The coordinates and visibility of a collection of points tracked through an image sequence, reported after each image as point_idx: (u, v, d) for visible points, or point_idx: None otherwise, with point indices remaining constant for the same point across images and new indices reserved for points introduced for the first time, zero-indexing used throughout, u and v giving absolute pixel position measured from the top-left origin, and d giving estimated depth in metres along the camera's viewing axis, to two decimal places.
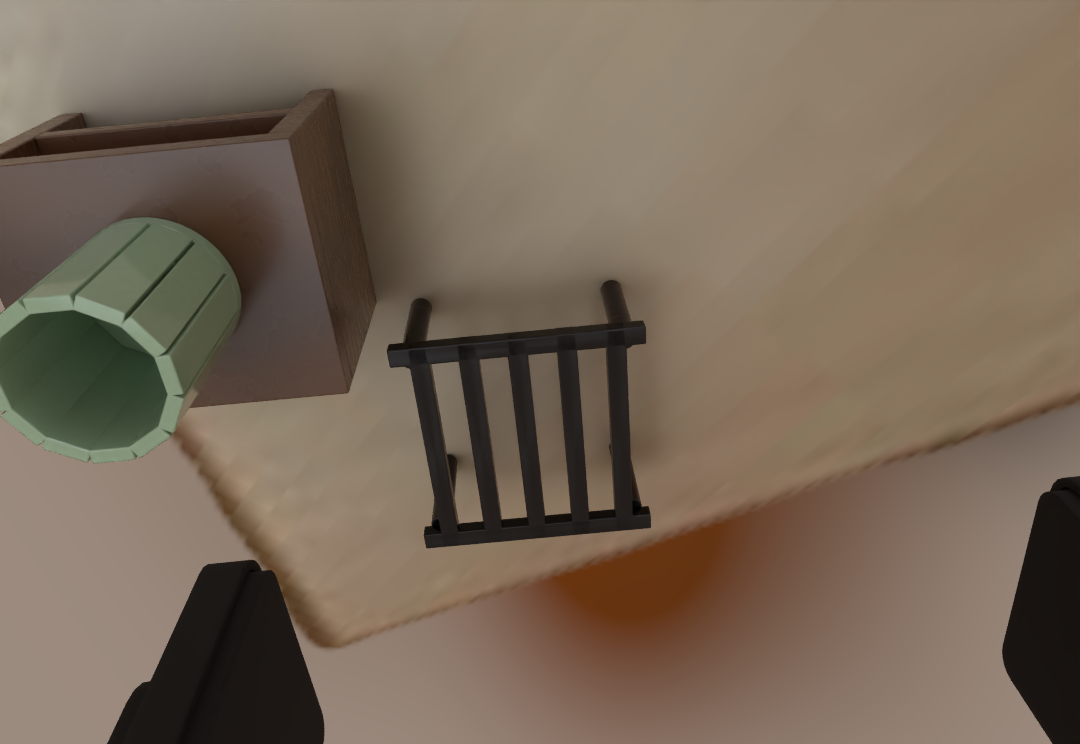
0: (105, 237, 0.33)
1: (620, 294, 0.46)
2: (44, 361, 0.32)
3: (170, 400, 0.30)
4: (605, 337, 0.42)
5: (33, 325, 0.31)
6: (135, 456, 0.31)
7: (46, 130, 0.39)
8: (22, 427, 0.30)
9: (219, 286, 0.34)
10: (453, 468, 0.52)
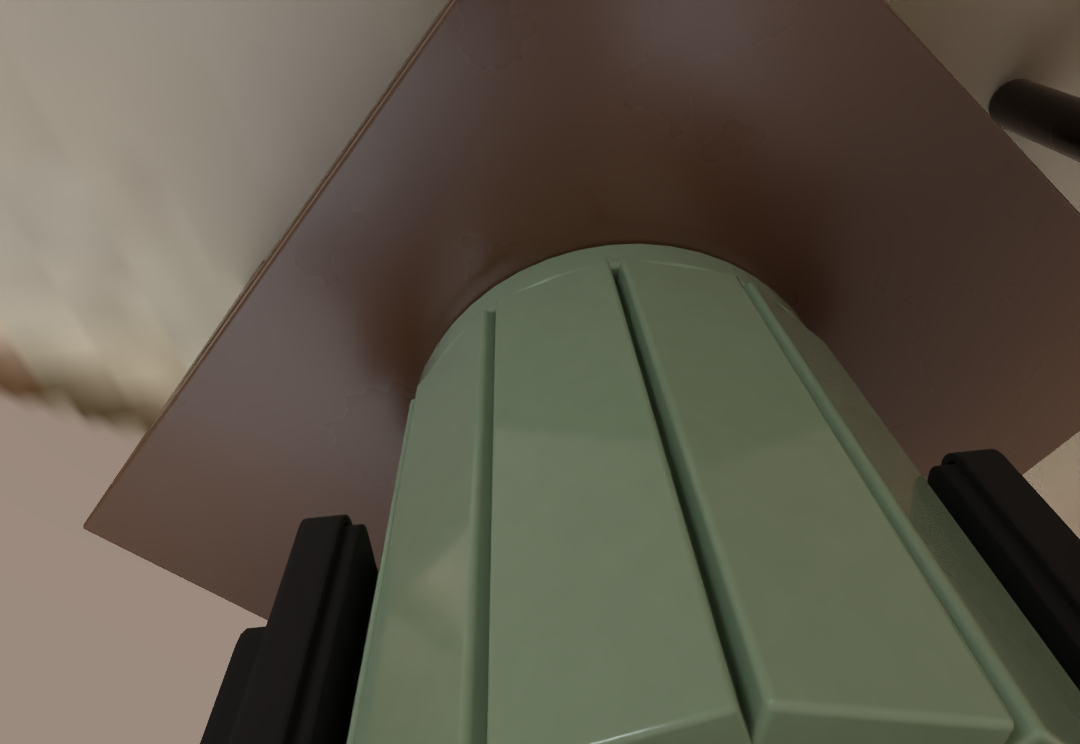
0: (425, 422, 0.11)
1: None
2: None
3: None
4: None
5: None
6: None
7: (224, 318, 0.19)
8: None
9: (773, 321, 0.10)
10: None
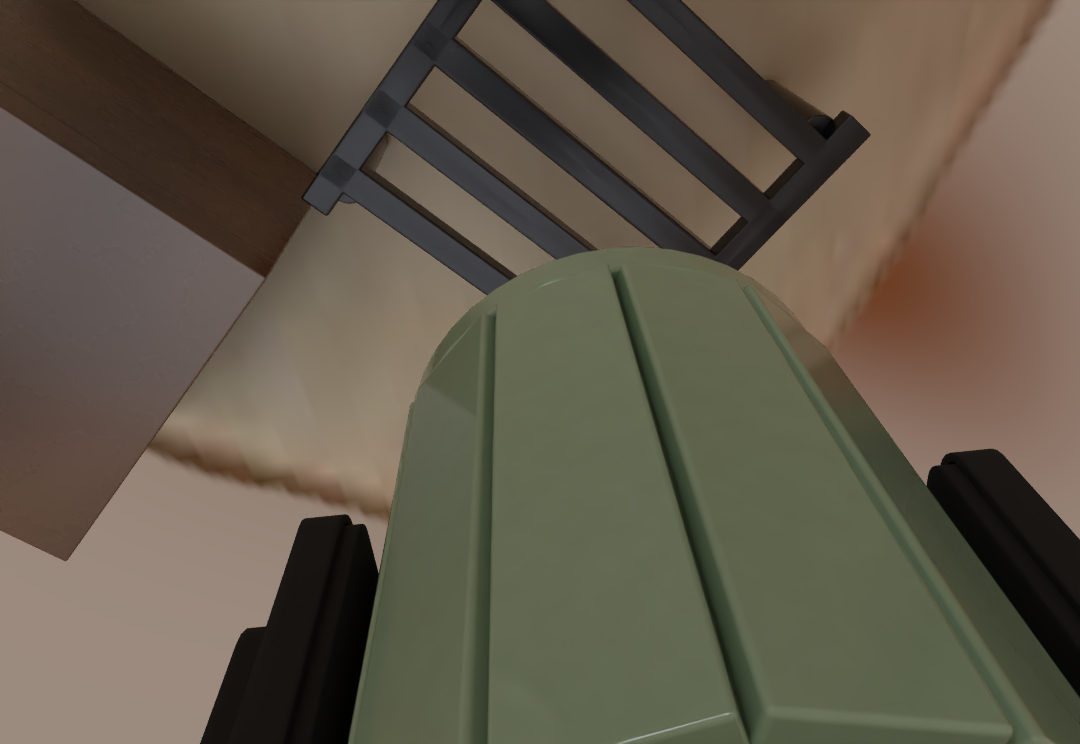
0: (426, 425, 0.11)
1: None
2: None
3: None
4: None
5: None
6: None
7: None
8: None
9: (773, 324, 0.10)
10: None
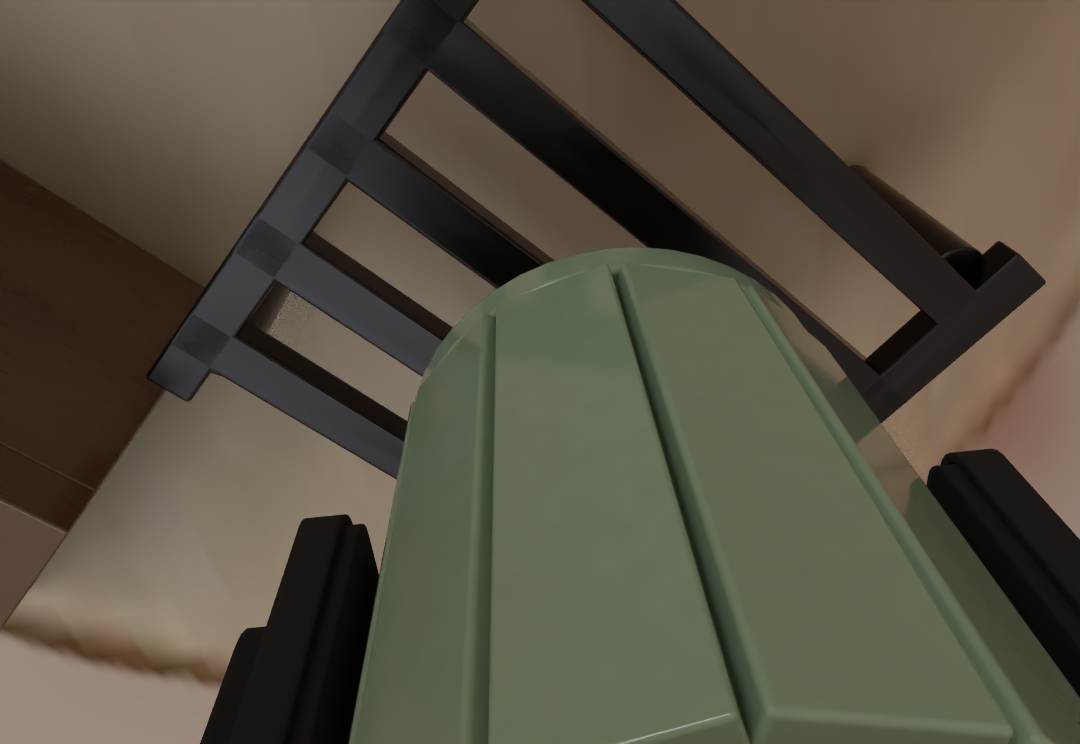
0: (426, 425, 0.11)
1: None
2: None
3: None
4: None
5: None
6: None
7: None
8: None
9: (773, 324, 0.10)
10: None
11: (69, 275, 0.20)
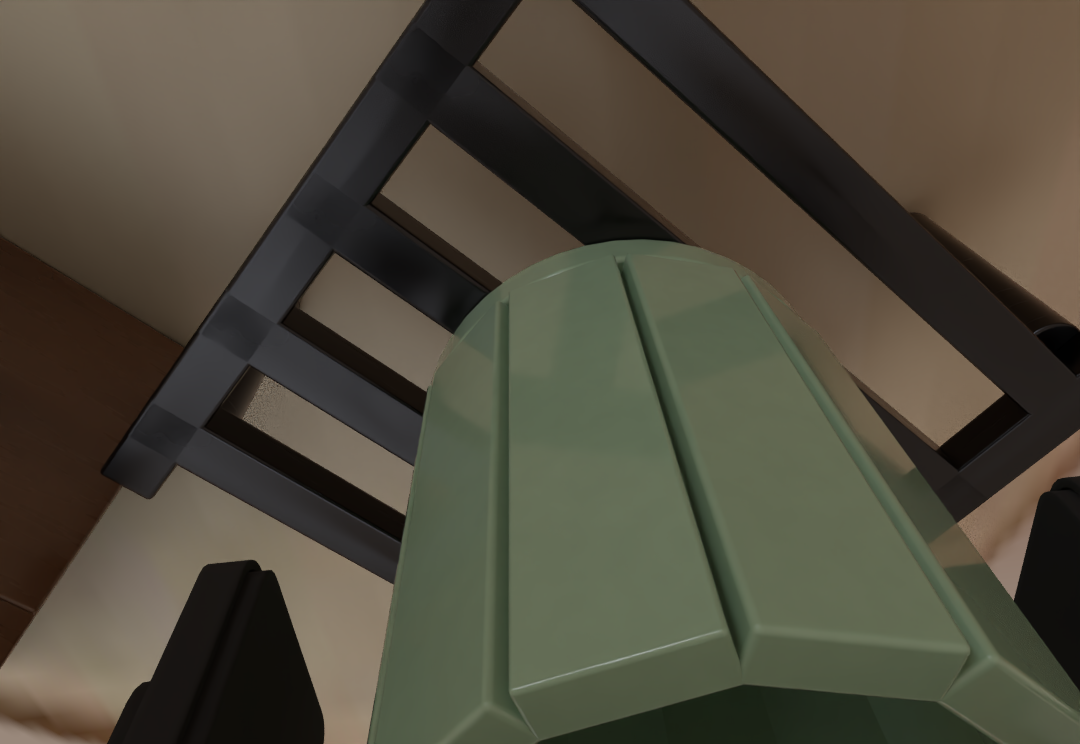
0: (444, 404, 0.11)
1: None
2: None
3: None
4: None
5: None
6: None
7: None
8: None
9: (768, 310, 0.11)
10: None
11: (23, 340, 0.18)
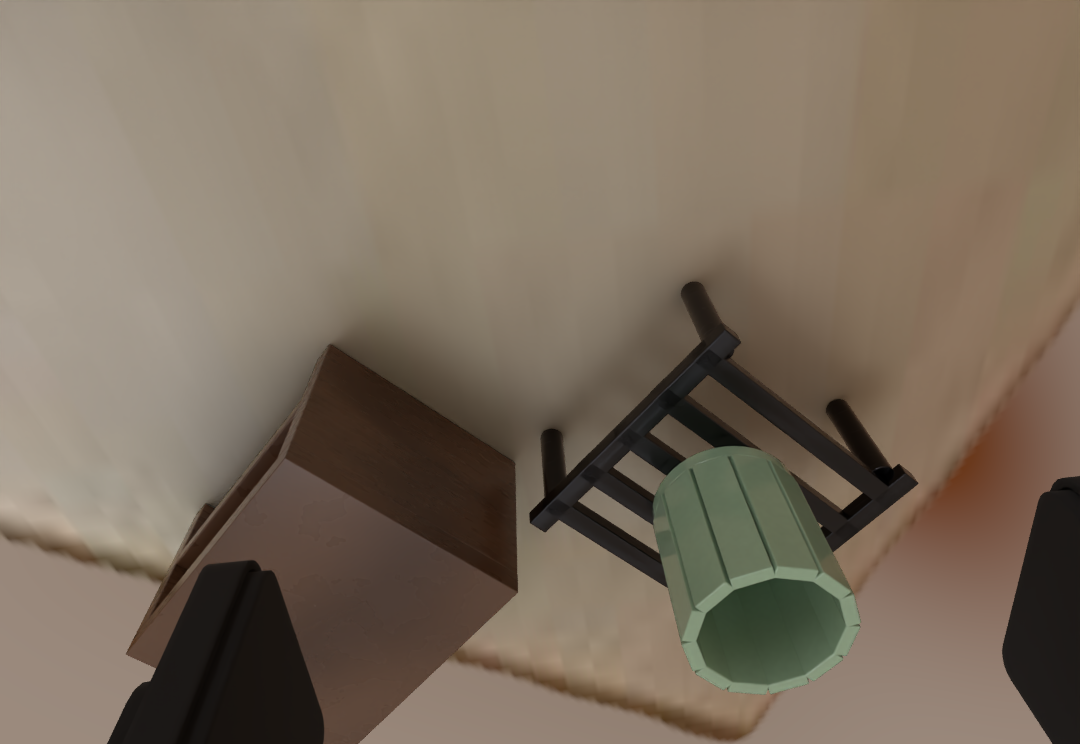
0: (676, 505, 0.36)
1: (698, 297, 0.40)
2: (710, 625, 0.36)
3: (844, 602, 0.32)
4: (697, 368, 0.36)
5: None
6: (841, 657, 0.33)
7: (183, 547, 0.44)
8: (747, 689, 0.34)
9: (777, 476, 0.36)
10: None
11: (466, 463, 0.43)
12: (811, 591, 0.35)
